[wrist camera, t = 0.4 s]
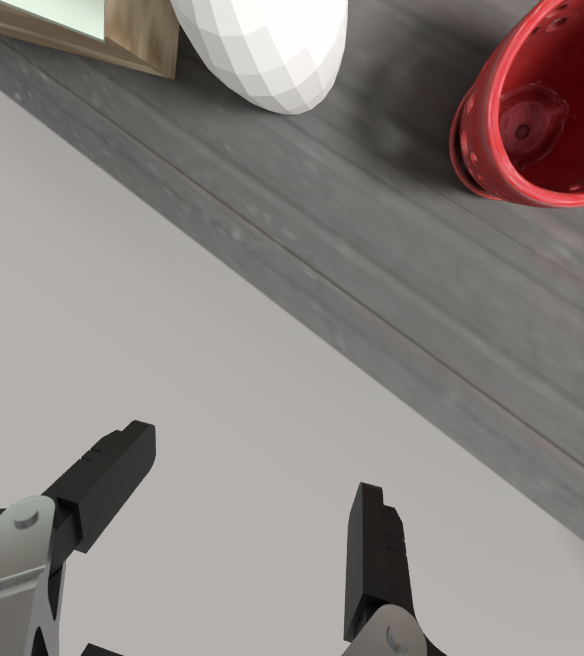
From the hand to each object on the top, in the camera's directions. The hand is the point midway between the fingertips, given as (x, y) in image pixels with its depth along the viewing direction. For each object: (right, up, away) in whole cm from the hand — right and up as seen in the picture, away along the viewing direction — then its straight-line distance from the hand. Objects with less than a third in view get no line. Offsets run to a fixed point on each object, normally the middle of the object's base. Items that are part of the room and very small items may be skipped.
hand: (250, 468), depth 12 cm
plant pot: (+22, +24, +18) cm, 37 cm away
